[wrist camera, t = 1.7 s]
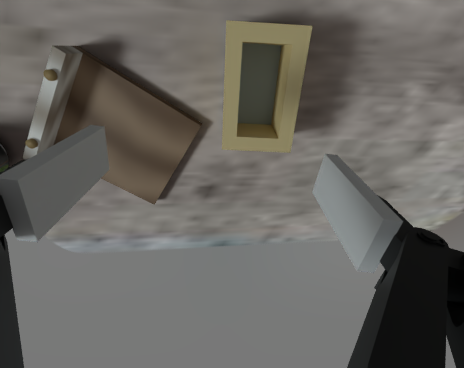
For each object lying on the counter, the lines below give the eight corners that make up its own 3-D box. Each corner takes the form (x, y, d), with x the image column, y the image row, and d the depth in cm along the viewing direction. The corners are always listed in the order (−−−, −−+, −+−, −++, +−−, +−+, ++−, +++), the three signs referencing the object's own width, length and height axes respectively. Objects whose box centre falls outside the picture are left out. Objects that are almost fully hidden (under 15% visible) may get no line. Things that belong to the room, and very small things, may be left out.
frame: (227, 26, 25) (226, 20, 20) (295, 30, 25) (312, 25, 20) (223, 131, 31) (222, 149, 25) (280, 134, 31) (290, 152, 25)
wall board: (77, 45, 26) (49, 45, 22) (202, 123, 30) (197, 134, 26) (46, 145, 31) (19, 159, 27) (156, 199, 35) (147, 219, 31)
